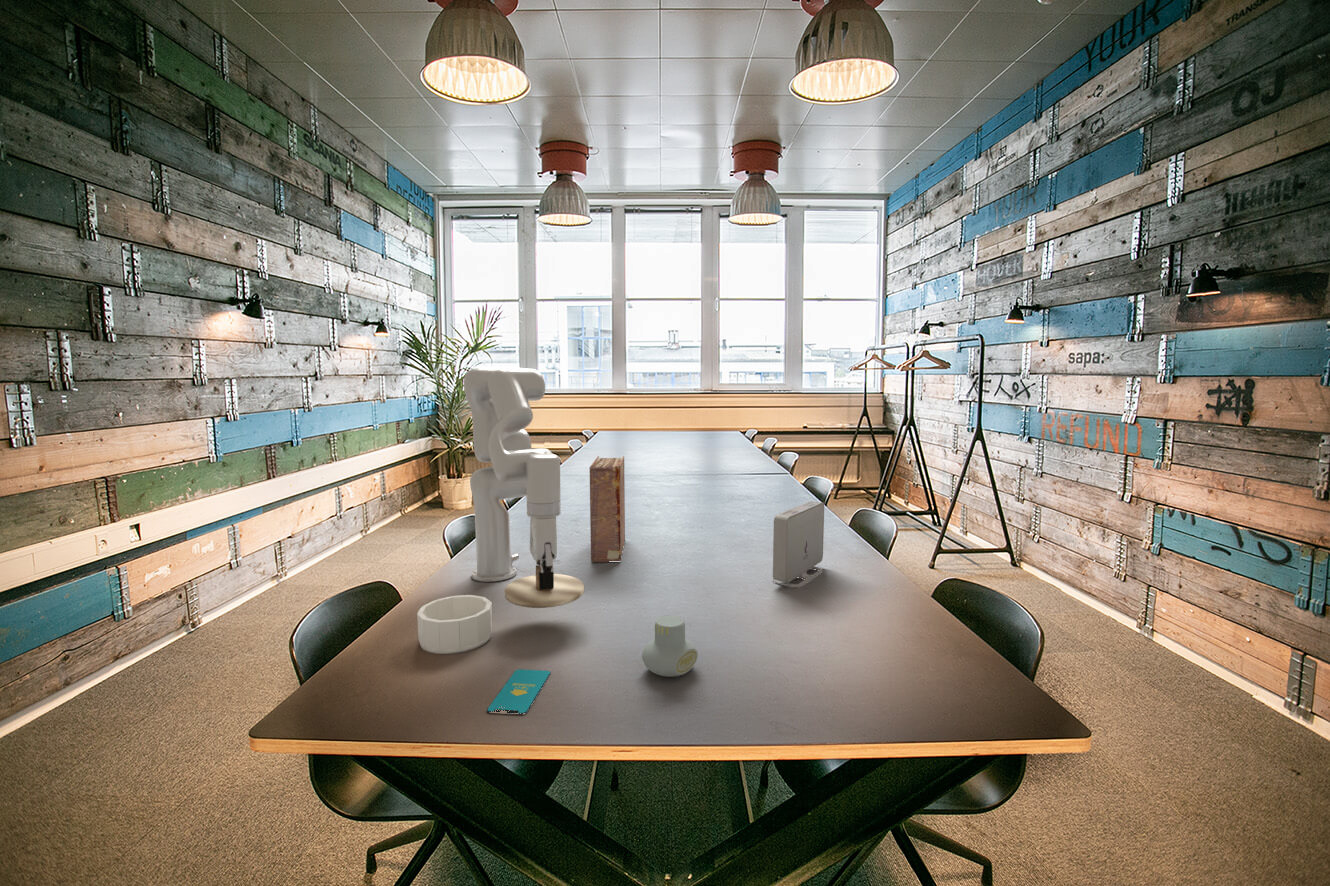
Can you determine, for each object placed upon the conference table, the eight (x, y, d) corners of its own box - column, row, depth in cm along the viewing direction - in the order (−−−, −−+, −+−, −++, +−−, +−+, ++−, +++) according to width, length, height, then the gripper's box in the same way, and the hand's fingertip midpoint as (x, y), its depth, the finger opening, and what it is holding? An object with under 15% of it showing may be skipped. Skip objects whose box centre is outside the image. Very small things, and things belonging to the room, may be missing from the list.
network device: (792, 592, 158) (794, 519, 156) (763, 585, 164) (764, 514, 161) (829, 567, 178) (831, 502, 176) (802, 562, 184) (804, 498, 182)
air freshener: (671, 653, 124) (670, 607, 123) (703, 665, 119) (703, 617, 117) (635, 674, 115) (635, 624, 114) (668, 688, 110) (668, 636, 109)
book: (599, 540, 209) (597, 456, 205) (625, 540, 209) (624, 455, 206) (590, 563, 184) (589, 467, 180) (620, 563, 184) (619, 467, 180)
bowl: (452, 620, 141) (450, 591, 140) (505, 629, 136) (504, 600, 135) (404, 647, 127) (402, 615, 126) (461, 658, 122) (460, 626, 121)
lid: (533, 573, 149) (532, 550, 149) (597, 584, 143) (597, 560, 142) (488, 600, 133) (487, 574, 132) (558, 613, 126) (558, 586, 126)
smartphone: (551, 669, 116) (526, 712, 101) (552, 673, 116) (526, 717, 101) (515, 668, 117) (484, 711, 102) (516, 672, 117) (485, 715, 102)
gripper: (522, 500, 142) (523, 574, 144) (532, 518, 126) (533, 600, 129) (553, 498, 144) (554, 571, 147) (567, 515, 129) (568, 596, 131)
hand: (544, 584), depth 138 cm, fingers closed on lid, 4 cm apart
